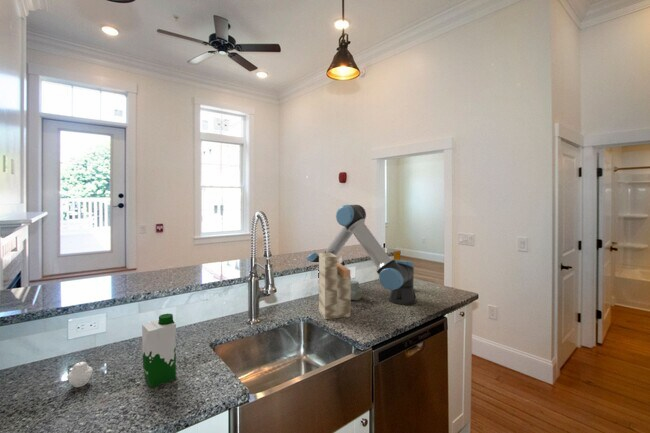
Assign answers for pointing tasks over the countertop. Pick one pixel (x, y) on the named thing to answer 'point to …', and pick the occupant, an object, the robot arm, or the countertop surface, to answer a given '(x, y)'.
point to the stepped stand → (333, 289)
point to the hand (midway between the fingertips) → (337, 258)
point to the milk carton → (159, 350)
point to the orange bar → (343, 270)
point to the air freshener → (355, 291)
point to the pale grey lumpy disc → (80, 374)
